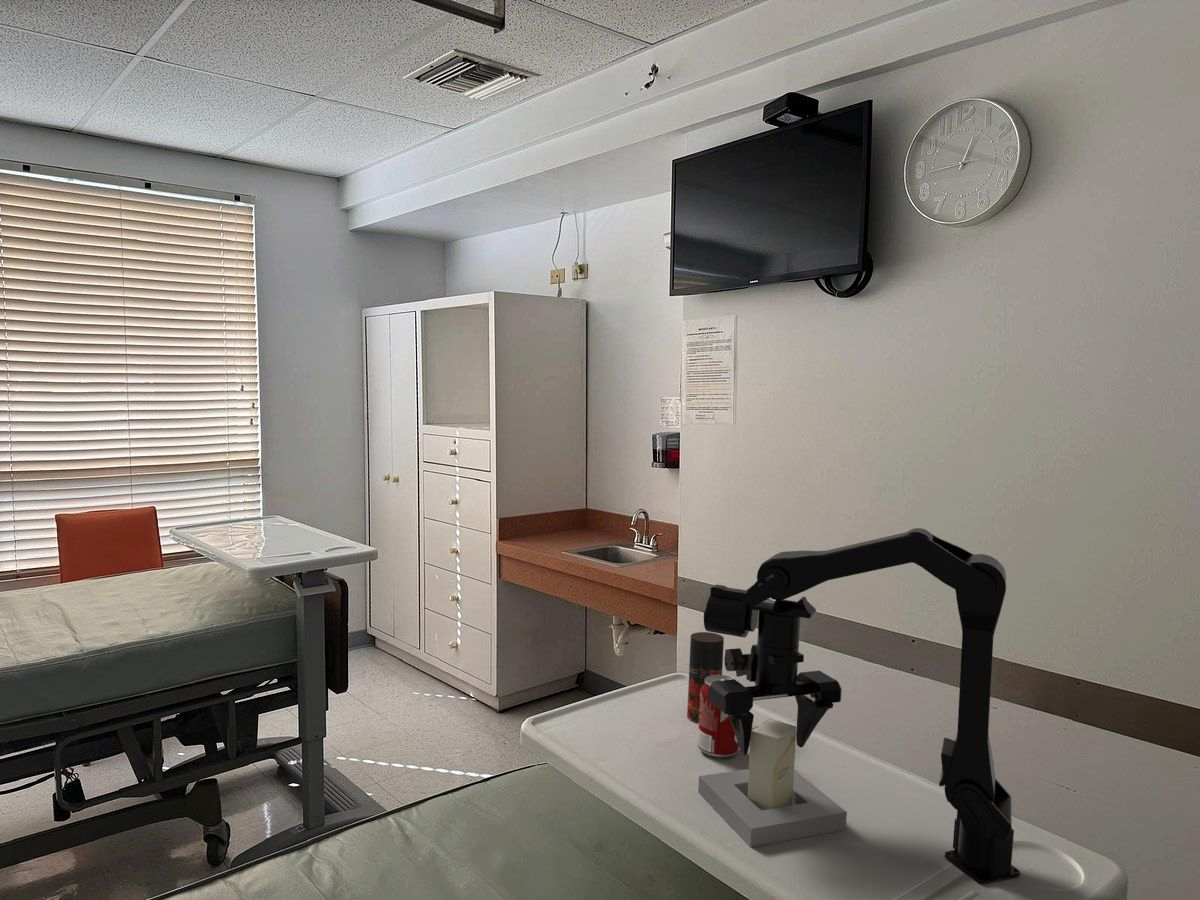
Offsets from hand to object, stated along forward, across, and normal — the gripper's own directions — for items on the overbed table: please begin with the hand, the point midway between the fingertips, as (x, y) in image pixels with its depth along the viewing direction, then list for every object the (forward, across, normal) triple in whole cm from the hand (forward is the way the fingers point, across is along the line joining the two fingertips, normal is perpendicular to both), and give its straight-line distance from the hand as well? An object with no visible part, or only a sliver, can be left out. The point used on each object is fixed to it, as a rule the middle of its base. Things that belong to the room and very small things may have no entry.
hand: (772, 750), depth 116 cm
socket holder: (+9, 0, 0) cm, 9 cm away
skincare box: (+9, 0, 0) cm, 9 cm away
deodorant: (+9, -6, -32) cm, 34 cm away
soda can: (+9, -2, -19) cm, 21 cm away
